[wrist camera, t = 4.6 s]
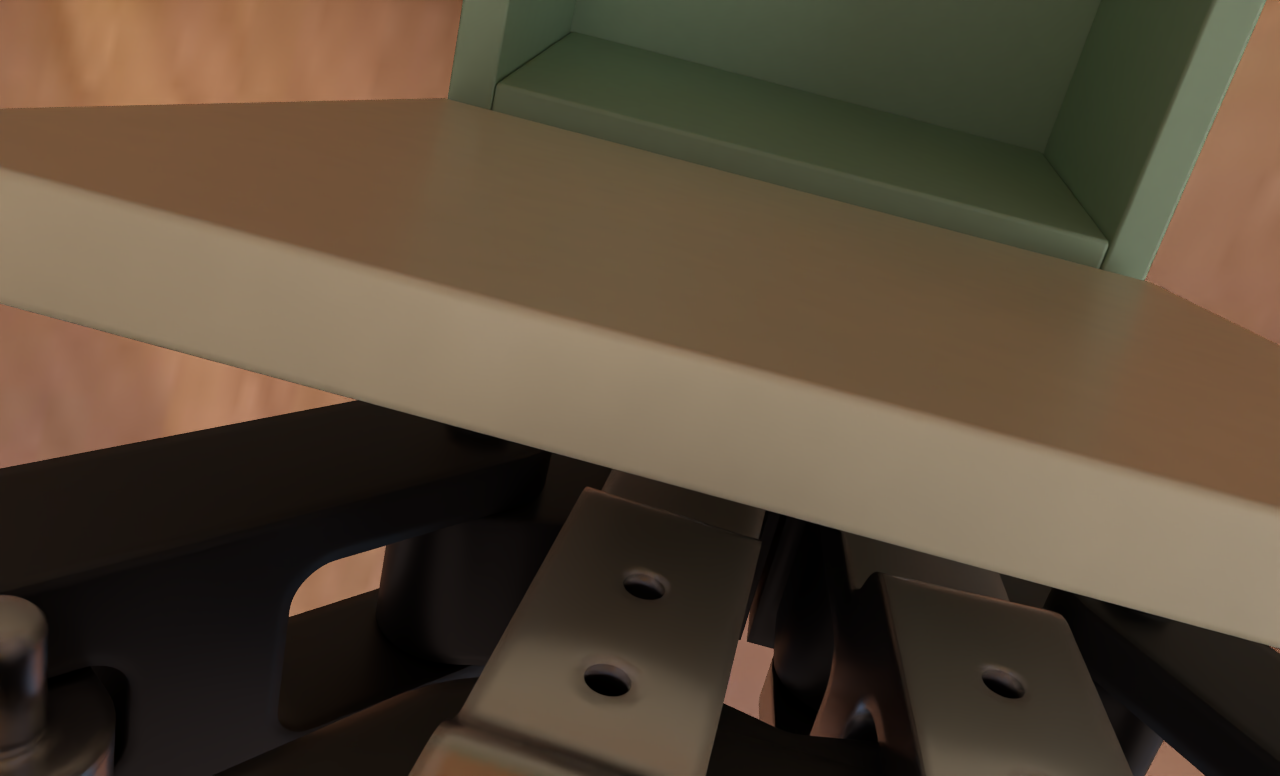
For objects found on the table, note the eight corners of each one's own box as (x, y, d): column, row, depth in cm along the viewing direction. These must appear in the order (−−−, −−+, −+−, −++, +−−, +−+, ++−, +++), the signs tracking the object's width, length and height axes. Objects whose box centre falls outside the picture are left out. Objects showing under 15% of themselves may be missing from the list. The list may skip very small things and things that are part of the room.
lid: (-217, 110, 7) (-225, 246, 7) (2025, 706, 6) (1948, 834, 7) (441, 97, 21) (432, 142, 21) (1153, 283, 20) (1137, 327, 21)
